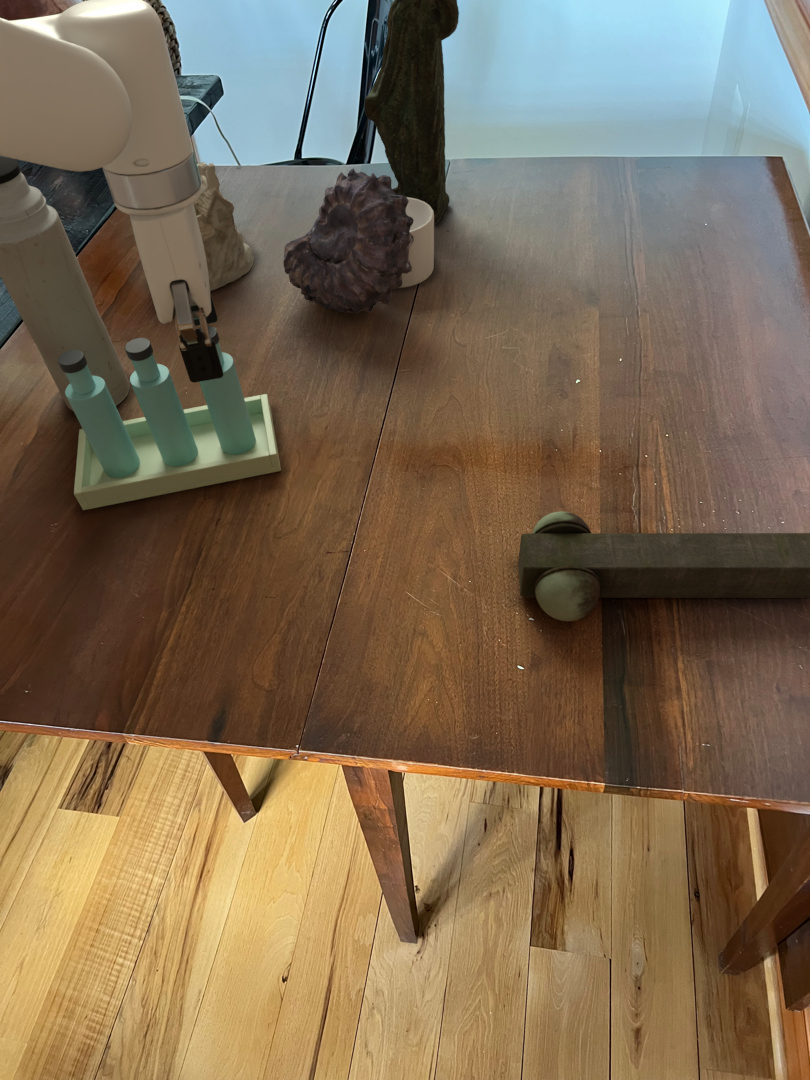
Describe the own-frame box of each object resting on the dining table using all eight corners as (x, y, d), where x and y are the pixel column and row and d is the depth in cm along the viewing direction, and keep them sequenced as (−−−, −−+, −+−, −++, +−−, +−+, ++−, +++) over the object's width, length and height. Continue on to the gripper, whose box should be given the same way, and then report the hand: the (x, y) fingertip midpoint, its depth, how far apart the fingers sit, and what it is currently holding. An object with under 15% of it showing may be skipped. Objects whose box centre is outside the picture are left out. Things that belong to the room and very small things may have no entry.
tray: (83, 510, 83) (73, 493, 81) (87, 445, 90) (79, 429, 88) (281, 471, 85) (276, 453, 83) (271, 410, 92) (266, 393, 90)
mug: (450, 262, 110) (449, 207, 104) (407, 298, 105) (403, 242, 99) (376, 239, 116) (371, 185, 110) (332, 271, 111) (324, 217, 105)
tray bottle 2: (162, 469, 85) (116, 360, 74) (162, 446, 88) (117, 337, 77) (198, 462, 86) (158, 353, 75) (197, 439, 88) (157, 330, 77)
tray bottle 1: (103, 481, 85) (47, 373, 74) (104, 457, 87) (51, 349, 76) (140, 474, 85) (90, 365, 74) (140, 450, 88) (92, 341, 77)
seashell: (326, 270, 111) (330, 355, 106) (259, 218, 102) (259, 308, 96) (435, 196, 101) (447, 286, 95) (372, 131, 91) (381, 227, 85)
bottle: (222, 458, 86) (184, 348, 75) (219, 434, 89) (183, 325, 77) (257, 451, 86) (225, 340, 75) (254, 428, 89) (223, 318, 78)
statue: (463, 196, 123) (462, -80, 96) (458, 226, 117) (455, -59, 90) (374, 196, 125) (348, -74, 98) (364, 226, 119) (334, -53, 92)
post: (826, 537, 75) (515, 537, 76) (849, 497, 70) (519, 498, 72) (867, 635, 67) (522, 633, 69) (895, 597, 63) (526, 596, 65)
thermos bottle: (107, 365, 100) (8, 141, 78) (142, 389, 96) (49, 160, 75) (53, 397, 96) (-66, 171, 75) (88, 423, 92) (-27, 193, 71)
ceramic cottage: (236, 225, 121) (206, 128, 109) (266, 278, 112) (237, 178, 100) (140, 257, 119) (99, 161, 107) (163, 314, 109) (120, 216, 97)
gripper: (112, 143, 70) (166, 310, 83) (104, 233, 59) (168, 409, 71) (195, 132, 71) (236, 298, 83) (203, 218, 59) (249, 395, 72)
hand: (205, 349), depth 77 cm, fingers open, 9 cm apart
